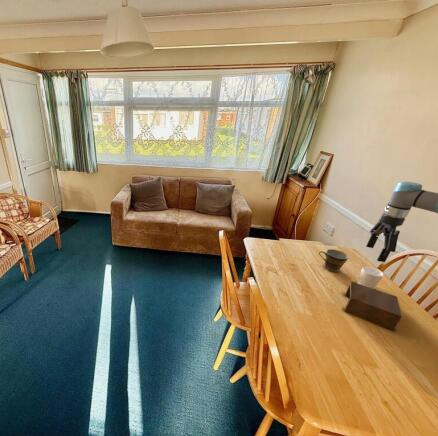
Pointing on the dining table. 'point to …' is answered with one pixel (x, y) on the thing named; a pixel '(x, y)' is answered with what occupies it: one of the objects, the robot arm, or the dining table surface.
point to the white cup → (369, 277)
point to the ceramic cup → (334, 259)
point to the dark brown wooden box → (373, 305)
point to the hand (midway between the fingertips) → (374, 253)
